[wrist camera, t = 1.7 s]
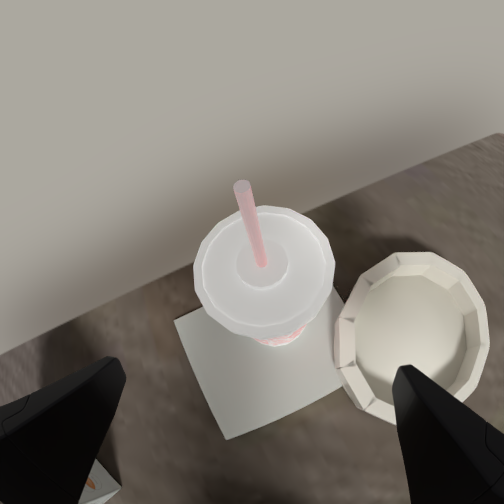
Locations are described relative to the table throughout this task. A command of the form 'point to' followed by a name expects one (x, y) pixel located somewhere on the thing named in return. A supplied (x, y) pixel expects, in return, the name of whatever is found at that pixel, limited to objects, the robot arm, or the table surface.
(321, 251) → the beverage cup
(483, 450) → the robot arm
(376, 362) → the bowl
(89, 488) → the small box
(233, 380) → the mat
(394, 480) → the table surface
